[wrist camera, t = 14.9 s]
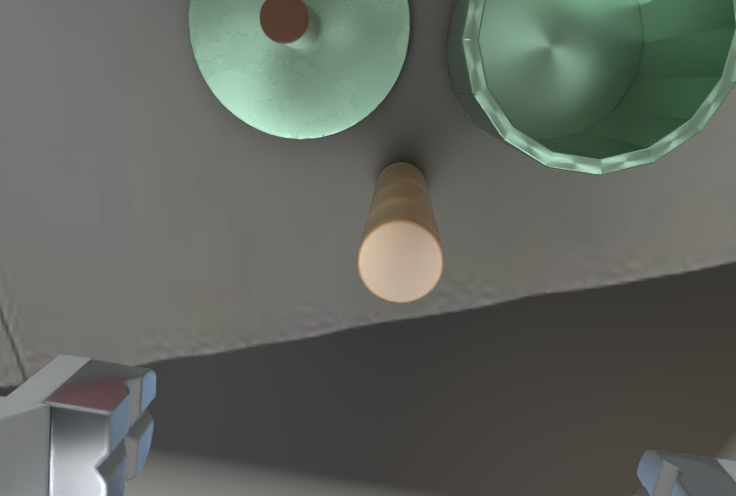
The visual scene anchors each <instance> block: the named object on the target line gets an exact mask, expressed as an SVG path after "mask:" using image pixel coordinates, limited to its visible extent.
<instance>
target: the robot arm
mask: <svg viewBox="0 0 736 496" xmlns="http://www.w3.org/2000/svg"><path fill="white" fill-rule="evenodd" d="M155 393H156V375H155V373H154V370H151V369H145V368H140V367H135V366H129V365H123V364H118V363H112V362H106V361H101V360H94V359H92V358H87V357H79V356H71V355H59V356H57V357H56V358H55V359H54V360H52V361H51V362H50V363H49V364H47V365H46V366H45V367H43V368H42V369H41V370H40V371H38V372H37V373H36V374H35V375H33V376H32V377H31V378H30V379H28V380H27V381H26V382H24V383H23V384H22V385H21V386H19V387H18V388H17V389H16V390H14V391H13V392H12V393H11V394H9V395H8V396H7V397H0V496H124V488H125V482H126V481H128V480H131V479H133V478H135V477H136V476H137V475H138V473H139V471H140V470H141V468H142V467H143V465H144V462H145V459H146V457H147V454H148V451H149V448H150V444H151V439H152V434H153V422H154V420H153V418H152V417H151V415H150V413H149V412H148V410H147V408H146V407H147V406H148V405H149V403H150V402H151V401H152V399H153V398H154V397H155ZM637 474H638V476H639V478H640V481H641V483H642V485H643V486H642V487H641V488H639V489H638V490H637V491H636V492H635V493H633V494H632V495H631V496H736V461H732V460H723V459H715V458H712V457H704V456H696V455H689V454H682V453H674V452H667V451H660V450H647V451H646V452H645V454H644V455H643V457H642V458H641V461H640V464H639V467H638V470H637Z"/></svg>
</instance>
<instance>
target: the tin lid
mask: <svg viewBox="0 0 736 496" xmlns="http://www.w3.org/2000/svg"><path fill="white" fill-rule="evenodd" d="M188 27H189V36H190V42H191V47H192V51H193V55H194V58H195V61H196V63H197V66H198V69H199V71H200V73H201V75H202V77H203V79H204V81H205V83H206V84H207V85H208V87H209V88H210V90H211V91H212V93H213V94H214V96H215V97H216V98H217V99H218V100H219V101H220V103H221V104H222V105H223V106H224V107H225V108H226V109H227V110H229V111H230V112H231V113H232V114H233V115H234V116H236V117H237V118H238V119H240V120H241V121H243V122H244V123H246V124H247V125H249V126H251V127H253V128H255V129H257V130H259V131H262V132H264V133H267V134H270V135H273V136H278V137H282V138H288V139H299V140H300V139H316V138H321V137H327V136H330V135H333V134H336V133H339V132H342V131H344V130H346V129H348V128H350V127H352V126H354V125H356V124H357V123H359V122H360V121H362V120H363V119H365V118H366V117H367V116H368V115H369V114H371V113H372V112H373V111H374V110H375V109H376V108H377V107H378V106H379V105H380V104H381V103H382V102H383V101H384V99H385V98H386V97H387V95H388V94H389V93H390V91H391V90H392V88H393V87H394V85H395V83H396V81H397V79H398V77H399V75H400V73H401V71H402V68H403V65H404V62H405V59H406V55H407V51H408V46H409V39H410V29H411V26H410V9H409V2H408V0H190V2H189V9H188Z"/></svg>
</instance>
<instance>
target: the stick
mask: <svg viewBox="0 0 736 496" xmlns="http://www.w3.org/2000/svg"><path fill="white" fill-rule="evenodd" d="M357 266H358V271H359V274H360V277H361V279H362V281H363V283H364V284H365V286H366V287H367V288H368V289H369V290H370V291H371V292H372V293H373V294H374V295H376V296H377V297H379V298H381V299H383V300H385V301H388V302H392V303H409V302H413V301H416V300H419V299H421V298H423V297H424V296H426V295H427V294H429V293H430V292H431V291H432V290H433V289H434V288H435V286H436V285H437V284H438V282H439V280H440V278H441V276H442V273H443V268H444V255H443V250H442V246H441V242H440V238H439V234H438V229H437V225H436V221H435V217H434V213H433V209H432V205H431V201H430V196H429V192H428V188H427V184H426V180H425V177H424V175H423V174H422V172H421V171H420V170H419V169H418V168H417V167H416V166H414V165H412V164H409V163H405V162H398V163H394V164H391V165H389V166H388V167H386V168H385V169H384V170H383V171H382V172H381V174H380V175H379V177H378V180H377V184H376V188H375V191H374V195H373V199H372V203H371V206H370V210H369V214H368V218H367V221H366V225H365V229H364V233H363V236H362V240H361V244H360V248H359V252H358V258H357Z"/></svg>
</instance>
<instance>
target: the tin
mask: <svg viewBox="0 0 736 496" xmlns="http://www.w3.org/2000/svg"><path fill="white" fill-rule="evenodd" d="M446 57H447V62H448V68H449V74H450V78H451V81H452V85H453V90H454V92H455V95H456V96H457V98H458V99H459V101H460V102H461V104H462V106H463V107H464V109H465V110H466V111H467V113H468V114H469V115H470V117H471V118H472V120H473V121H474V123H475V124H476V125H477V126H478V127H480V128H481V129H483V130H485V131H486V132H488V133H489V134H491V135H492V136H494V137H496V138H497V139H499V140H500V141H502V142H504V143H505V144H507V145H508V146H510V147H512V148H514V149H516V150H517V151H519V152H521V153H523V154H524V155H526V156H528V157H530V158H531V159H533V160H535V161H537V162H538V163H540V164H542V165H544V166H546V167H548V168H555V169H561V170H567V171H574V172H580V173H587V174H593V175H603V174H607V173H612V172H616V171H620V170H625V169H629V168H633V167H638V166H642V165H646V164H651V163H652V162H655V161H657V160H658V159H660V158H661V157H663V156H664V155H666V154H667V153H669V152H670V151H672V150H673V149H675V148H676V147H678V146H679V145H681V144H682V143H684V142H685V141H687V140H689V139H690V138H692V137H693V136H695V135H696V134H698V133H699V132H700V131H701V130H702V129H703V128H704V126H705V125H706V124H707V122H708V121H709V120H710V118H711V117H712V116H713V114H714V113H715V112H716V110H717V109H718V107H719V106H720V105H721V103H722V102H723V101H724V99H725V98H726V97H727V95H728V94H729V93H730V91H731V90H732V88H733V87H734V86H735V84H736V0H459V1H458V2H457V4H456V6H455V7H454V10H453V13H452V18H451V24H450V28H449V33H448V41H447V47H446Z"/></svg>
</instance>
